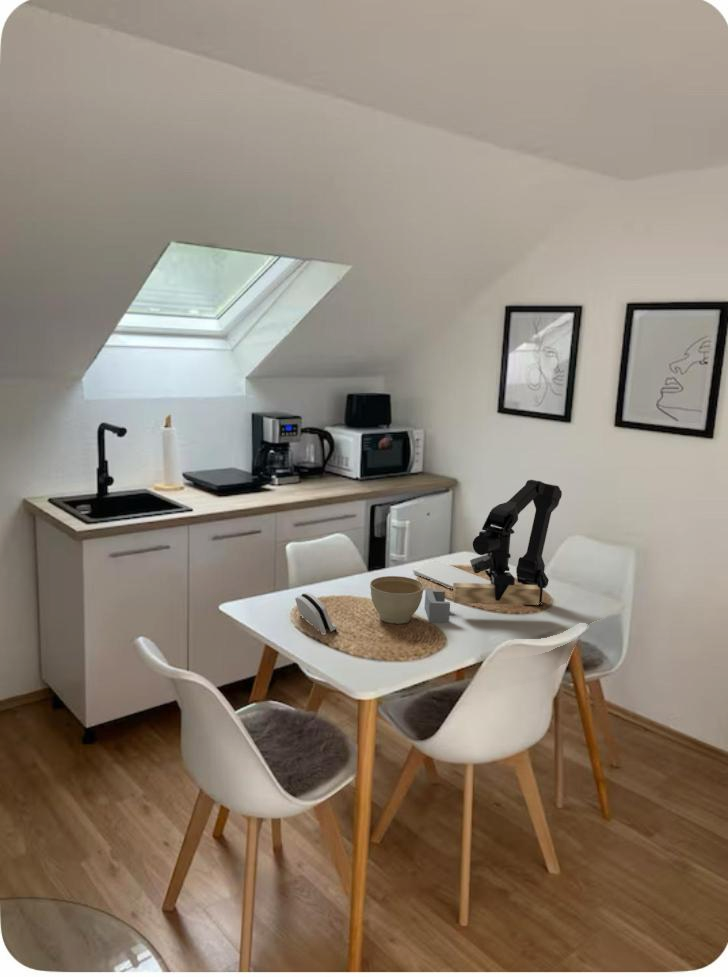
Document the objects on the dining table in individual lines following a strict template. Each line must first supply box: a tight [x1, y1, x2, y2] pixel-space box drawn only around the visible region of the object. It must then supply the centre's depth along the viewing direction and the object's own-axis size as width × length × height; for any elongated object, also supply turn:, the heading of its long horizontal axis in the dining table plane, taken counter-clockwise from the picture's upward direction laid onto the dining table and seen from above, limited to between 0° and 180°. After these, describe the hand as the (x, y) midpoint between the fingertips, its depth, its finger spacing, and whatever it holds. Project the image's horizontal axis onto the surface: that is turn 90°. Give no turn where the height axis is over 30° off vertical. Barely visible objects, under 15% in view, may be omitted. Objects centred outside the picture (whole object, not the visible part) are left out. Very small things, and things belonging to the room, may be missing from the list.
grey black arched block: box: [295, 592, 339, 633], centre depth 219 cm, size 17×5×10 cm, turn 28°
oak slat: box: [452, 583, 540, 606], centre depth 231 cm, size 26×4×5 cm, turn 92°
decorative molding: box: [412, 558, 491, 589], centre depth 260 cm, size 34×5×10 cm
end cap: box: [424, 589, 451, 623], centre depth 231 cm, size 6×12×6 cm, turn 2°
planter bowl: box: [369, 575, 425, 625], centre depth 226 cm, size 16×16×11 cm
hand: (495, 598), depth 231 cm, fingers closed on oak slat, 4 cm apart
